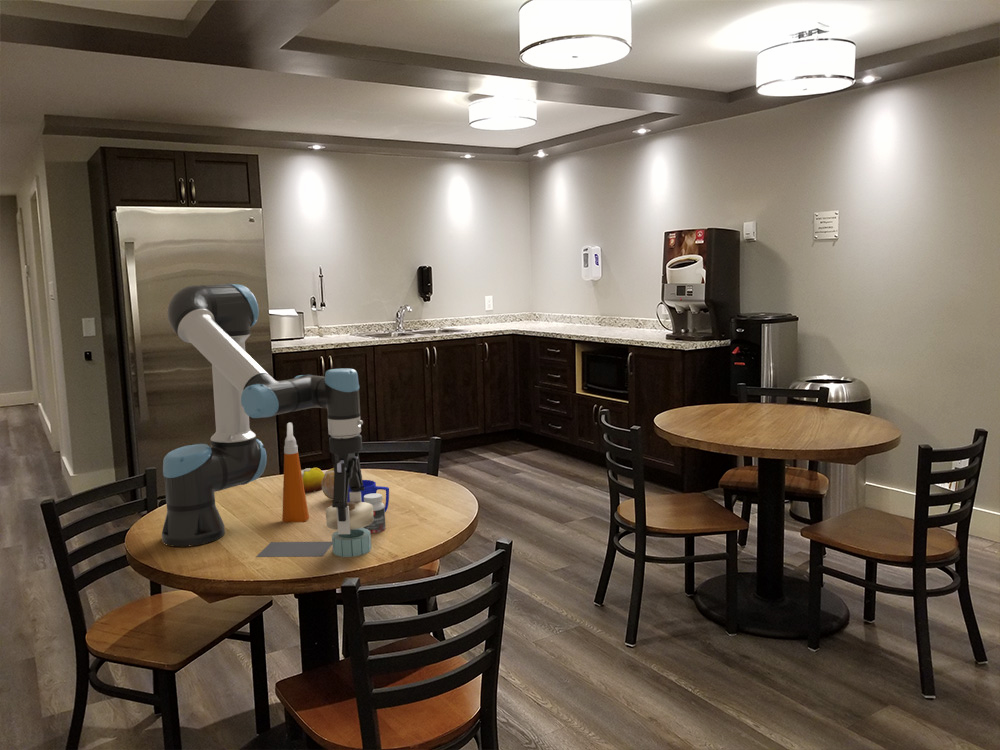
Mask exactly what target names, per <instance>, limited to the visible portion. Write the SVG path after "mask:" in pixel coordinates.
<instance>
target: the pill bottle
mask: <svg viewBox="0 0 1000 750" xmlns="http://www.w3.org/2000/svg"><path fill="white" fill-rule="evenodd" d="M382 501H383V494H382V493H378V492H376V493H372V494H367V495H365V496H364V502H366V503H370V504H372V505H373V517H374V521H373V523H371V524H370V525H368V526H365V527H362V528H364V529H368V530H369V531H370V533H371V534H378V533H382V532H383V531H386V529H387V528H386V512H385V503H383V502H382Z"/></svg>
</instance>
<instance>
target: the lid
mask: <svg viewBox="0 0 1000 750" xmlns="http://www.w3.org/2000/svg"><path fill="white" fill-rule="evenodd" d="M347 506H349V518H350V530H351V529H358V528H363V527H365V526H368V525H370V524H371V523H373V521H374V517H373V505H372V504H370V503H366V502H347ZM325 520H326V526H327V527H328V528H329V529H332V530H336V531H338V526H337V509H336V507H332V505H330V506H328V507H327V508H326V509H325Z"/></svg>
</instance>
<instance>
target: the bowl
mask: <svg viewBox="0 0 1000 750" xmlns="http://www.w3.org/2000/svg"><path fill="white" fill-rule="evenodd" d="M371 534H372V533H370V531H369V530H368V529H364V528H363V527H362V528H358V529H351V530H350V534H338V530H336V531H335V532H333V533H332V535H331V542H332V545H331V547H332V553H333V554H334V555H335V556H336V557H337V556H338V557H342V558H352V557H358V556H359V557H360V556H362V555H365V554H368V553H369V552H370V551H371V550H372V542H371V541H372V535H371Z"/></svg>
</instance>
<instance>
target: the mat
mask: <svg viewBox="0 0 1000 750" xmlns="http://www.w3.org/2000/svg"><path fill="white" fill-rule="evenodd" d="M331 547H332V541H270V542H269V544H268V545H266V546H265V547H264V548H263V549H262V550H261V551H260V552H259V553H258V554H257V555H256V556H255V557H256V558H282V557H283V558H287V557H289V558H290V557H291V558H292V557H293V558H294V557H295V558H296V557H297V558H300V557H301V558H303V557H307V558H308V557H310V558H311V557H313V558H315V557H317V558H319V557H324V555H325V554H326V553H327V552H328V550H329V549H330V548H331Z"/></svg>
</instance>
